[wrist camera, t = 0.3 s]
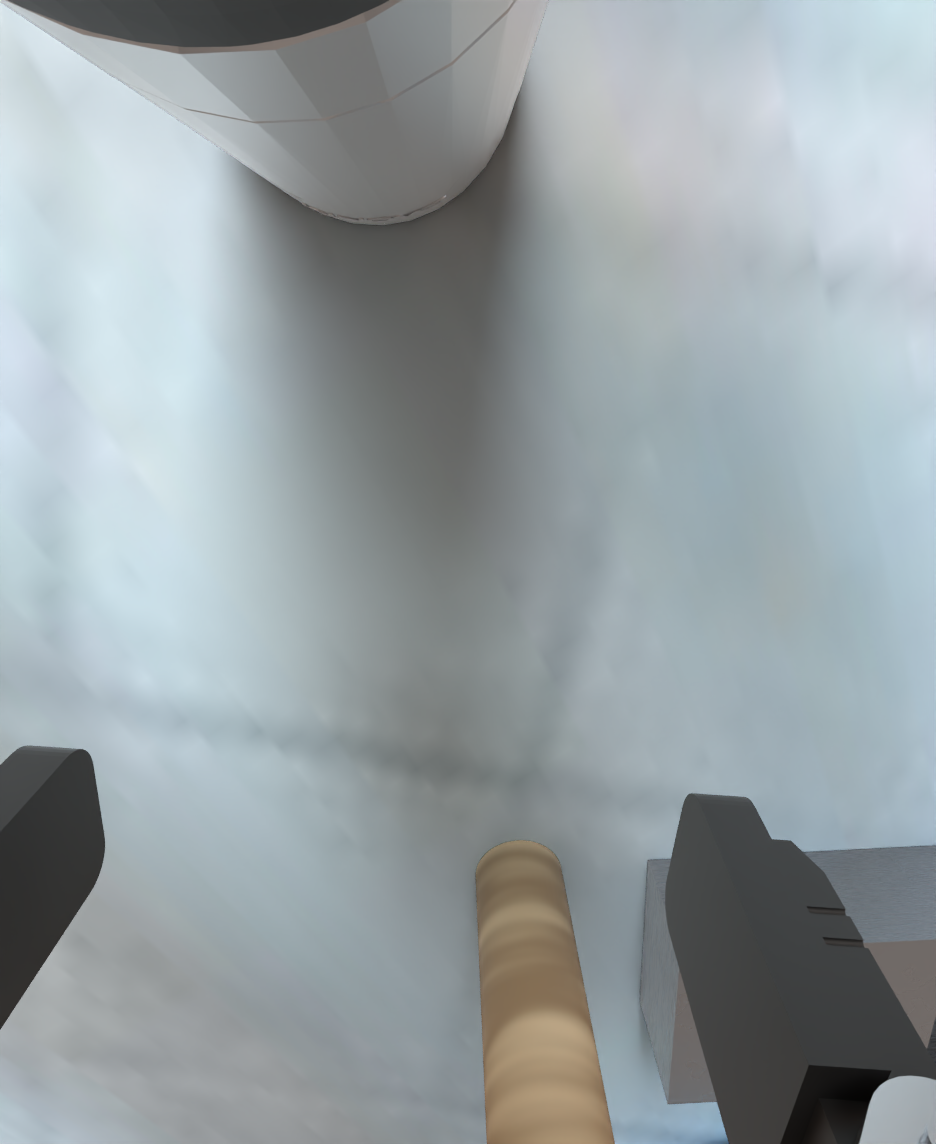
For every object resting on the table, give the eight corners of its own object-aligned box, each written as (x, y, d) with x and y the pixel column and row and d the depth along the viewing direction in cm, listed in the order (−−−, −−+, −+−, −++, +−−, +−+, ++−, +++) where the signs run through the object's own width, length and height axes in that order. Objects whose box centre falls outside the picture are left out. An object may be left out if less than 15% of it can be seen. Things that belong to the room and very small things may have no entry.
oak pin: (453, 827, 32) (455, 1409, 15) (581, 821, 32) (726, 1394, 15) (459, 925, 34) (466, 1533, 17) (580, 919, 34) (705, 1519, 17)
